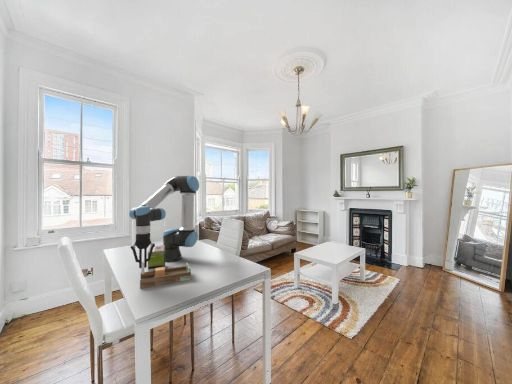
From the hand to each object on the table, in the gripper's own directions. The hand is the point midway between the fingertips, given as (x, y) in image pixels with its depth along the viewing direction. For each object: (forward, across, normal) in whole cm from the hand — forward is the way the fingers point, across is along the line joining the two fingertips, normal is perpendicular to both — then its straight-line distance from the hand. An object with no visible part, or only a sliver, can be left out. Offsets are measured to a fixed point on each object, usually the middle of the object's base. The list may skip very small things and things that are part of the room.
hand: (142, 273), depth 127 cm
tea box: (+5, +8, +18) cm, 21 cm away
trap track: (+5, +12, -2) cm, 14 cm away
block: (+3, +9, 0) cm, 10 cm away
